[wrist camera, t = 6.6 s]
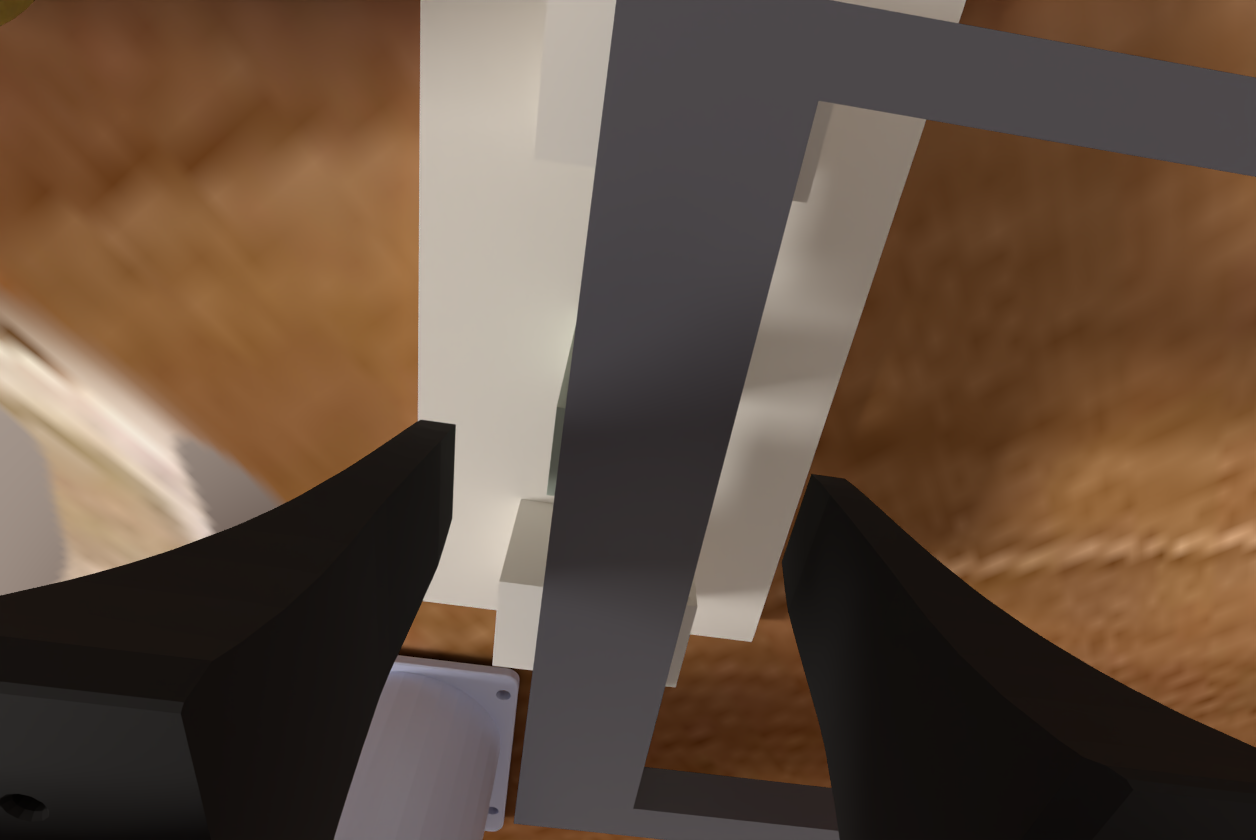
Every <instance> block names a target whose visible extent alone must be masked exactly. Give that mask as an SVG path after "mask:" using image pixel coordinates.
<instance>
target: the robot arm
mask: <svg viewBox="0 0 1256 840" xmlns="http://www.w3.org/2000/svg"><path fill="white" fill-rule="evenodd" d="M455 433H456V424H449V423H442V422H435V421H428V420H419V421H418V422H416V423H414V424H413V425H411V426H410V427H408V428H407V429H406V430H404V431H403V432H401V433H400V434H398V435H397V436H395V437H394V438H392V439H391V440H389V441H388V442H386V443H385V444H384V445H382V446H381V447H379V448H378V449H376V450H375V451H373V452H372V453H370V454H368V455H367V456H365V457H364V458H362V459H361V460H359V461H358V462H356V463H355V464H353V465H352V466H350V467H348V468H347V469H345V470H344V471H342V472H340V473H338V474H337V475H335V476H333V477H331V478H330V479H328V480H326V481H324V482H323V483H321V484H319V485H318V486H316V487H314V488H312V489H311V490H309V491H307V492H305V493H304V494H302V495H300V496H298V497H296V498H294V499H292V500H291V501H289V502H287V503H285V504H283V505H281V506H279V507H277V508H274V509H273V510H270V511H268V512H266V513H264V514H261V515H259V516H258V517H255V518H253V519H251V520H248V521H246V522H244V523H241V524H239V525H237V526H234V527H232V528H229V529H227V530H224V531H222V532H219V533H216V534H213V535H211V536H208V537H205V538H203V539H200V540H197V541H195V542H192V543H190V544H187V545H184V546H182V547H179V548H176V549H174V550H171V551H168V552H165V553H162V554H158V555H155V556H152V557H149V558H146V559H143V560H139V561H136V562H133V563H130V564H126V565H123V566H119V567H116V568H112V569H109V570H105V571H102V572H98V573H95V574H91V575H87V576H83V577H79V578H75V579H71V580H68V581H63V582H59V583H54V584H50V585H46V586H41V587H37V588H32V589H28V590H23V591H19V592H15V593H10V594H6V595H1V596H0V840H483V835H484V831H497V830H499V829H501V828H502V826H503V823H504V816H505V807H506V798H507V789H508V780H509V771H510V762H511V753H512V744H513V735H514V726H515V717H516V708H517V699H518V690H519V681H520V678H519V675H518V674H517V672H515V671H514V670H512V669H508V668H502V667H493V666H485V665H476V664H468V663H460V662H451V661H443V660H435V659H426V658H418V657H409V656H401V655H398V653H399V651H400V649H401V647H402V645H403V642H404V640H405V638H406V636H407V634H408V632H409V629H410V627H411V625H412V623H413V621H414V618H415V616H416V614H417V612H418V610H419V608H420V605H421V603H422V601H423V599H424V596H425V594H426V592H427V590H428V588H429V585H430V583H431V581H432V579H433V576H434V574H435V572H436V570H437V567H438V565H439V561H440V558H441V555H442V552H443V549H444V545H445V542H446V539H447V535H448V532H449V528H450V525H451V522H452V515H453V488H454V461H455ZM782 567H783V576H784V585H785V593H786V600H787V607H788V613H789V616H790V620H791V624H792V628H793V632H794V635H795V639H796V643H797V646H798V650H799V653H800V657H801V661H802V664H803V668H804V671H805V675H806V678H807V682H808V685H809V689H810V692H811V696H812V700H813V703H814V707H815V710H816V714H817V717H818V721H819V725H820V729H821V733H822V737H823V742H824V746H825V751H826V757H827V763H828V768H829V774H830V780H831V786H832V792H833V798H834V804H835V811H836V818H837V825H838V832H839V839H840V840H1256V748H1255V747H1253V746H1251V745H1249V744H1247V743H1244V742H1242V741H1240V740H1238V739H1235V738H1233V737H1231V736H1229V735H1227V734H1224V733H1222V732H1220V731H1218V730H1215V729H1213V728H1211V727H1209V726H1206V725H1204V724H1202V723H1200V722H1198V721H1195V720H1193V719H1191V718H1189V717H1187V716H1185V715H1182V714H1180V713H1178V712H1176V711H1174V710H1172V709H1170V708H1168V707H1166V706H1164V705H1163V704H1161V703H1159V702H1157V701H1155V700H1153V699H1151V698H1149V697H1147V696H1145V695H1143V694H1141V693H1139V692H1137V691H1135V690H1133V689H1131V688H1129V687H1127V686H1126V685H1124V684H1122V683H1120V682H1118V681H1116V680H1115V679H1113V678H1111V677H1109V676H1107V675H1105V674H1104V673H1102V672H1100V671H1098V670H1096V669H1095V668H1093V667H1091V666H1090V665H1088V664H1086V663H1085V662H1083V661H1081V660H1080V659H1078V658H1076V657H1074V656H1073V655H1071V654H1069V653H1068V652H1066V651H1064V650H1063V649H1061V648H1059V647H1058V646H1056V645H1054V644H1053V643H1051V642H1050V641H1048V640H1046V639H1045V638H1043V637H1042V636H1040V635H1039V634H1037V633H1035V632H1034V631H1032V630H1031V629H1029V628H1028V627H1026V626H1025V625H1023V624H1022V623H1021V622H1019V621H1018V620H1016V619H1015V618H1013V617H1012V616H1010V615H1009V614H1008V613H1006V612H1005V611H1003V610H1002V609H1000V608H999V607H997V606H996V605H995V604H993V603H992V602H990V601H989V600H988V599H986V598H985V597H984V596H982V595H981V594H980V593H978V592H977V591H976V590H974V589H973V588H972V587H970V586H969V585H968V584H967V583H965V582H964V581H963V580H962V579H961V578H959V577H958V576H957V575H956V574H954V573H953V572H952V571H951V570H949V569H948V568H947V567H946V566H944V565H943V564H942V563H941V562H940V561H938V560H937V559H936V558H935V557H934V556H932V555H931V554H930V553H929V552H928V551H927V550H925V549H924V548H923V547H922V546H921V545H920V544H919V543H917V542H916V541H915V540H914V539H913V538H912V537H911V536H910V535H908V534H907V533H906V532H905V531H904V530H903V529H902V528H901V527H900V526H898V525H897V524H896V523H895V522H894V521H893V520H892V519H891V518H890V517H888V516H887V515H886V514H885V513H884V512H883V511H882V510H881V509H880V508H879V507H878V506H876V505H875V504H874V503H873V502H872V501H871V500H870V499H869V498H867V497H866V496H865V495H864V494H863V493H862V492H861V491H859V490H858V489H857V488H856V487H855V486H853V485H852V484H851V483H850V482H848V481H847V480H846V479H843V478H836V477H829V476H821V475H814V474H811V477H810V480H809V483H808V486H807V489H806V492H805V495H804V498H803V501H802V504H801V507H800V510H799V513H798V516H797V519H796V522H795V525H794V527H793V530H792V533H791V536H790V539H789V542H788V545H787V548H786V551H785V554H784V557H783V560H782ZM503 690H505V691H503Z"/></svg>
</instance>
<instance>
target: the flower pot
mask: <svg viewBox="0 0 1256 840" xmlns="http://www.w3.org/2000/svg"><path fill="white" fill-rule="evenodd" d="M34 1H35V0H0V26H1V25H3V24H5V23H7V22H9V21H11V20H12V19H14V18H16V17H17V16H18V15H19V14H21V13H22V12H23V11H24V10H26V9H27V8H28V7H29V6H30V5H31V4H32V3H33V2H34Z"/></svg>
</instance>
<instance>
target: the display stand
mask: <svg viewBox="0 0 1256 840" xmlns="http://www.w3.org/2000/svg"><path fill="white" fill-rule="evenodd" d="M833 1H839V2H844V3H850V4H855V5H861V6H866V7H872V8H877V9H883V10H888V11H894V12H899V13H904V14H910V15H915V16H921V17H926V18H932V19H937V20H943V21H948V22H954V23H959V20H960V17H961V14H962V11H963V8H964V5H965V2H966V0H833ZM615 7H616V0H421V10H420V171H419V331H418V421H419V420H428V421H435V422H442V423H449V424H456V433H455V461H454V488H453V515H452V522H451V525H450V528H449V532H448V535H447V539H446V542H445V545H444V549H443V552H442V555H441V558H440V561H439V565H438V567H437V570H436V572H435V574H434V576H433V579H432V581H431V583H430V585H429V588H428V590H427V592H426V594H425V596H424V599H423V601H427V602H435V603H443V604H451V605H459V606H467V607H475V608H483V609H491V610H497V614H496V626H495V638H494V651H493V663H492V666H500V667H508V668H517V669H525V670H533V665H534V657H535V649H536V641H537V633H538V625H539V617H540V609H541V601H542V593H543V585H544V577H545V569H546V561H547V553H548V544H549V536H550V528H551V520H552V512H553V504H554V496H555V488H556V480H557V472H558V464H559V456H560V448H561V440H562V432H563V424H564V416H565V408H566V400H567V392H568V384H569V376H570V368H571V360H572V352H573V344H574V336H575V328H576V320H577V312H578V304H579V296H580V288H581V280H582V272H583V264H584V256H585V247H586V239H587V231H588V223H589V215H590V207H591V199H592V191H593V183H594V175H595V167H596V159H597V151H598V143H599V135H600V127H601V119H602V111H603V103H604V95H605V87H606V79H607V71H608V63H609V55H610V47H611V39H612V31H613V23H614V15H615ZM925 122H926V119H921V118H915V117H909V116H904V115H898V114H892V113H886V112H881V111H875V110H869V109H863V108H858V107H852V106H846V105H840V104H835V103H829V102H823V101H818V105H817V109H816V113H815V116H814V120H813V124H812V128H811V132H810V136H809V139H808V143H807V147H806V151H805V155H804V158H803V162H802V166H801V170H800V174H799V178H798V181H797V185H796V189H795V193H794V197H793V200H792V204H791V208H790V212H789V216H788V220H787V223H786V227H785V231H784V235H783V239H782V242H781V246H780V250H779V254H778V258H777V261H776V265H775V269H774V273H773V277H772V281H771V284H770V288H769V292H768V296H767V300H766V303H765V307H764V311H763V315H762V319H761V323H760V326H759V330H758V334H757V338H756V342H755V345H754V349H753V353H752V357H751V361H750V365H749V368H748V372H747V376H746V380H745V384H744V387H743V391H742V395H741V399H740V403H739V407H738V410H737V414H736V418H735V422H734V426H733V429H732V433H731V437H730V441H729V445H728V449H727V452H726V456H725V460H724V464H723V468H722V471H721V475H720V479H719V483H718V487H717V490H716V494H715V498H714V502H713V506H712V510H711V513H710V517H709V521H708V525H707V529H706V532H705V536H704V540H703V544H702V548H701V552H700V555H699V559H698V563H697V567H696V571H695V574H694V578H693V582H692V586H691V590H690V594H689V597H688V601H687V605H686V609H685V613H684V616H683V620H682V624H681V628H680V632H679V636H678V639H677V643H676V647H675V651H674V655H673V658H672V662H671V666H670V670H669V674H668V678H667V681H666V685H665V686H667V687H676V684H677V680H678V677H679V673H680V669H681V666H682V662H683V658H684V655H685V651H686V647H687V644H688V640H689V636H690V634H692V635H700V636H708V637H717V638H725V639H733V640H741V641H749V642H752V640H753V637H754V634H755V631H756V628H757V625H758V622H759V619H760V616H761V613H762V610H763V607H764V604H765V601H766V598H767V595H768V592H769V589H770V586H771V583H772V580H773V577H774V574H775V571H776V568H777V565H778V562H779V559H780V556H781V553H782V550H783V547H784V544H785V541H786V538H787V535H788V532H789V529H790V526H791V523H792V520H793V517H794V514H795V511H796V508H797V505H798V502H799V499H800V496H801V493H802V490H803V487H804V484H805V481H806V478H807V475H808V472H809V469H810V466H811V463H812V460H813V457H814V454H815V451H816V448H817V445H818V442H819V439H820V436H821V433H822V430H823V427H824V424H825V421H826V418H827V415H828V412H829V409H830V406H831V403H832V400H833V397H834V394H835V391H836V388H837V385H838V382H839V379H840V376H841V373H842V370H843V367H844V364H845V361H846V359H847V356H848V353H849V350H850V347H851V344H852V341H853V338H854V335H855V332H856V329H857V326H858V323H859V320H860V317H861V314H862V311H863V308H864V305H865V302H866V299H867V296H868V293H869V290H870V287H871V284H872V281H873V278H874V275H875V272H876V269H877V266H878V263H879V260H880V257H881V254H882V251H883V248H884V245H885V242H886V239H887V236H888V233H889V230H890V227H891V224H892V221H893V218H894V215H895V212H896V209H897V206H898V203H899V200H900V197H901V194H902V191H903V188H904V185H905V182H906V179H907V176H908V173H909V170H910V167H911V164H912V161H913V158H914V155H915V152H916V149H917V146H918V143H919V140H920V137H921V134H922V131H923V128H924V125H925Z"/></svg>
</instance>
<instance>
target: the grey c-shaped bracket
mask: <svg viewBox="0 0 1256 840" xmlns="http://www.w3.org/2000/svg"><path fill="white" fill-rule="evenodd" d="M818 101H823V102H829V103H835V104H840V105H846V106H852V107H858V108H863V109H869V110H875V111H881V112H886V113H892V114H898V115H904V116H909V117H915V118H921V119H927V120H932V121H938V122H944V123H950V124H955V125H961V126H967V127H973V128H979V129H984V130H990V131H996V132H1002V133H1007V134H1013V135H1019V136H1025V137H1030V138H1036V139H1042V140H1048V141H1053V142H1059V143H1065V144H1071V145H1076V146H1082V147H1088V148H1094V149H1099V150H1105V151H1111V152H1117V153H1122V154H1128V155H1134V156H1140V157H1145V158H1151V159H1157V160H1163V161H1168V162H1174V163H1180V164H1186V165H1191V166H1197V167H1203V168H1209V169H1214V170H1220V171H1226V172H1232V173H1238V174H1243V175H1249V176H1255V177H1256V78H1254V77H1249V76H1243V75H1238V74H1233V73H1227V72H1222V71H1216V70H1211V69H1205V68H1200V67H1194V66H1189V65H1183V64H1178V63H1172V62H1167V61H1161V60H1156V59H1151V58H1145V57H1140V56H1134V55H1129V54H1123V53H1118V52H1112V51H1107V50H1101V49H1096V48H1090V47H1085V46H1079V45H1074V44H1069V43H1063V42H1058V41H1052V40H1047V39H1041V38H1036V37H1030V36H1025V35H1019V34H1014V33H1008V32H1003V31H997V30H992V29H986V28H981V27H976V26H970V25H965V24H959V23H954V22H948V21H943V20H937V19H932V18H926V17H921V16H915V15H910V14H904V13H899V12H894V11H888V10H883V9H877V8H872V7H866V6H861V5H855V4H850V3H844V2H839V1H833V0H616V7H615V15H614V23H613V31H612V39H611V47H610V55H609V63H608V71H607V79H606V87H605V95H604V103H603V111H602V119H601V127H600V135H599V143H598V151H597V159H596V167H595V175H594V183H593V191H592V199H591V207H590V215H589V223H588V231H587V239H586V247H585V256H584V264H583V272H582V280H581V288H580V296H579V304H578V312H577V320H576V328H575V336H574V344H573V352H572V360H571V368H570V376H569V384H568V392H567V400H566V408H565V416H564V424H563V432H562V440H561V448H560V456H559V464H558V472H557V480H556V488H555V496H554V504H553V512H552V520H551V528H550V536H549V544H548V553H547V561H546V569H545V577H544V585H543V593H542V601H541V609H540V617H539V625H538V633H537V641H536V649H535V657H534V665H533V673H532V681H531V689H530V697H529V705H528V713H527V721H526V729H525V737H524V745H523V753H522V761H521V769H520V777H519V785H518V793H517V801H516V809H515V817H514V824H523V825H533V826H542V827H551V828H561V829H570V830H580V831H589V832H598V833H608V834H617V835H627V836H636V837H645V838H655V839H664V840H840V839H839V832H838V825H837V818H836V811H835V804H834V798H833V792H832V788H826V787H818V786H809V785H800V784H791V783H782V782H773V781H764V780H755V779H747V778H738V777H729V776H720V775H711V774H702V773H693V772H685V771H676V770H667V769H658V768H649V767H644V765H645V761H646V758H647V754H648V750H649V746H650V742H651V739H652V735H653V731H654V727H655V723H656V720H657V716H658V712H659V708H660V704H661V700H662V697H663V693H664V689H665V685H666V681H667V678H668V674H669V670H670V666H671V662H672V658H673V655H674V651H675V647H676V643H677V639H678V636H679V632H680V628H681V624H682V620H683V616H684V613H685V609H686V605H687V601H688V597H689V594H690V590H691V586H692V582H693V578H694V574H695V571H696V567H697V563H698V559H699V555H700V552H701V548H702V544H703V540H704V536H705V532H706V529H707V525H708V521H709V517H710V513H711V510H712V506H713V502H714V498H715V494H716V490H717V487H718V483H719V479H720V475H721V471H722V468H723V464H724V460H725V456H726V452H727V449H728V445H729V441H730V437H731V433H732V429H733V426H734V422H735V418H736V414H737V410H738V407H739V403H740V399H741V395H742V391H743V387H744V384H745V380H746V376H747V372H748V368H749V365H750V361H751V357H752V353H753V349H754V345H755V342H756V338H757V334H758V330H759V326H760V323H761V319H762V315H763V311H764V307H765V303H766V300H767V296H768V292H769V288H770V284H771V281H772V277H773V273H774V269H775V265H776V261H777V258H778V254H779V250H780V246H781V242H782V239H783V235H784V231H785V227H786V223H787V220H788V216H789V212H790V208H791V204H792V200H793V197H794V193H795V189H796V185H797V181H798V178H799V174H800V170H801V166H802V162H803V158H804V155H805V151H806V147H807V143H808V139H809V136H810V132H811V128H812V124H813V120H814V116H815V113H816V109H817V105H818Z"/></svg>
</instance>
